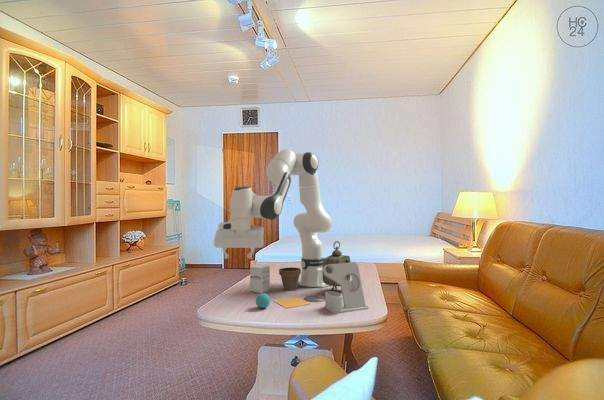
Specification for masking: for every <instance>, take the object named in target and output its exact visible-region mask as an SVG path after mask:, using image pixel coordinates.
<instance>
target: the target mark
mask: <svg viewBox="0 0 604 400" xmlns="http://www.w3.org/2000/svg"><path fill="white" fill-rule="evenodd" d="M273 302H274V303H276V304H278V305H280V306H281V307H283V308H285V309H291V308H297V307H303V306H308V305H311V302H310V301H306V300H305V299H302V298H301V297H298V296H296V297H290V298H284V299H277V300H273Z"/></svg>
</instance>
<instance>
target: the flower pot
mask: <svg viewBox="0 0 604 400" xmlns="http://www.w3.org/2000/svg"><path fill="white" fill-rule="evenodd" d="M301 273H302V268H300V267H292V266H291V267H282V268H279V269H278V274H279V275H280V279H281V281H282V283H281V284H282V286H283V289H284V290H286V291H294V290H296V289H297V288H298V284H299V281H300V279H299V278H300V276H301Z"/></svg>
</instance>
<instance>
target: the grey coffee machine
mask: <svg viewBox="0 0 604 400" xmlns="http://www.w3.org/2000/svg"><path fill="white" fill-rule="evenodd" d="M326 267H330V269H331V272H330V273H327V272H326V270H325V269H326ZM323 273H324V275H325V276H326V277H328V278H330V279H331V280H333V281H334V282H336V283H338V284H339V285H340V286H341V287H340V286H339V287H340V288H341V289H340V290H341V294H339V292H338V293H336V291H335V290H334V291H332V290H327V291H325V292H324V295H325V296H324V297H325V300H324V309H326V310H328V311H329V312H331V313H333V314H340V313H341V314H342V313H348V312H349V311H350V312H355V310H357V311H362V310H361V309H364V310H369V309H370V305H368V304H367V303H366V300H365V294H364V290H363V284H362V279H361V275H360V269H359V265H358V264H357V263H356V262H353V261H352V262H351V261H350V263H338V264H328V265H325V266H324V267H323ZM347 275H350V277H351V280H350V281H348V280H347V279H346V277H347ZM368 308H369V309H368Z"/></svg>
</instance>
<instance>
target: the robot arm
mask: <svg viewBox="0 0 604 400" xmlns="http://www.w3.org/2000/svg"><path fill="white" fill-rule="evenodd" d="M318 168H319V159H318V156H317V154H315V153H314V152H311V151H309V152H308V151H306V152H300V153H299V152H297V153H295V152H294V151H293V150H291V149H289V148H283V149H281V150H280V151H279V152H278V153H277V154H275V156H274V157H273V158H272V159H271V161H270V162H269V163H268V165H267V167H266V171H265V173H266V177H267V178H268V180H269V181H270V182H271V183H272V184H273V185H276V186H275V188H274V191H273V193H272V194H270V195H269V194H268V195H258V194H256V193H255V192H253V191H252V187H251V186H246V185H245V186H236V187H234V188H233V189H232V191H231V198H230V215H229V220H227V221H222V222H219V223H218V224H217V227H218V229H217V230H216V231H215V233H214V238H213V245H214V247H215V248H219V249H222V252H223V254H224V260H225V259H226V260H228V259H230V254H229V253H227V249H229V248H230V249H231V248H232V249H233V248H234V249H235V248H239V249H240V248H241V249H242V248H243V249H244V248H245V249H250V251H249V253H247V256H246V257H247V260H248V259H252V257H253V254H254V252H255V251H256V249H257V248H258V249H261V248H263V247H264V234H265V229H264V227H263V226H261V225H253V224H252V218H259V219H266V220H271V221H274V220H276V219H277V218H278V217H280V215H281V213H282V210H283V207H284V202H285V199H286V197H287V194H288V191H289V189H290V187H291V182H292V177H291V176H298V187H299V188H298V192H299V201H300V203H301V204H302V206H303V207H304V208H305V211H303V212H300V213H297V214H296V215H295V216H294V218H293V226H294V228H295V229H296V230H297V232H298V234H299V235H298V236H299V237H300V241H301V262H300V263H301V264H300V265H301V274H300V279H299V282H298V284H299V285H300V286H301V287H309V288H325V287H330V286H331V285H326V284H325V283H324V282H323V273H322V268H323V259H324V258H325V257H323V243H322V241H321V240H320V239H319V237H318V234H321V233H322V234H323V233H327V232H328V231H330V229H331V228H332V226H333V225H332V224H333V220H332V217H331V216H330V215H329V214H328V213H327V212H326V210H325V208H324V205H323V203H322V198H321V189H320V180H319V175H318V171H317V170H318Z"/></svg>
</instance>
